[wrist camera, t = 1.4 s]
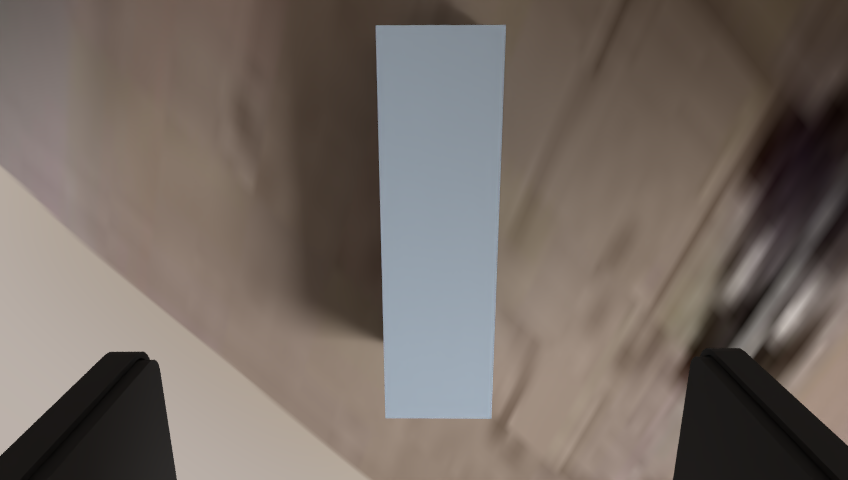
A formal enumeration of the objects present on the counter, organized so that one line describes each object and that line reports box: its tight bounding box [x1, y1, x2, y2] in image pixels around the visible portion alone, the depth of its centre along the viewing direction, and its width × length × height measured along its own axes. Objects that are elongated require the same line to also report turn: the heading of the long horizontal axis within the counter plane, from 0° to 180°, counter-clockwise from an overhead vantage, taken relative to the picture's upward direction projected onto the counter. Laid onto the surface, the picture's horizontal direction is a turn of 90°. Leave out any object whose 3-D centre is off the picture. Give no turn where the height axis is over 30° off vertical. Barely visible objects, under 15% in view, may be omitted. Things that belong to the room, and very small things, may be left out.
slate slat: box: [376, 25, 506, 419], centre depth 23 cm, size 4×14×6 cm, turn 0°
